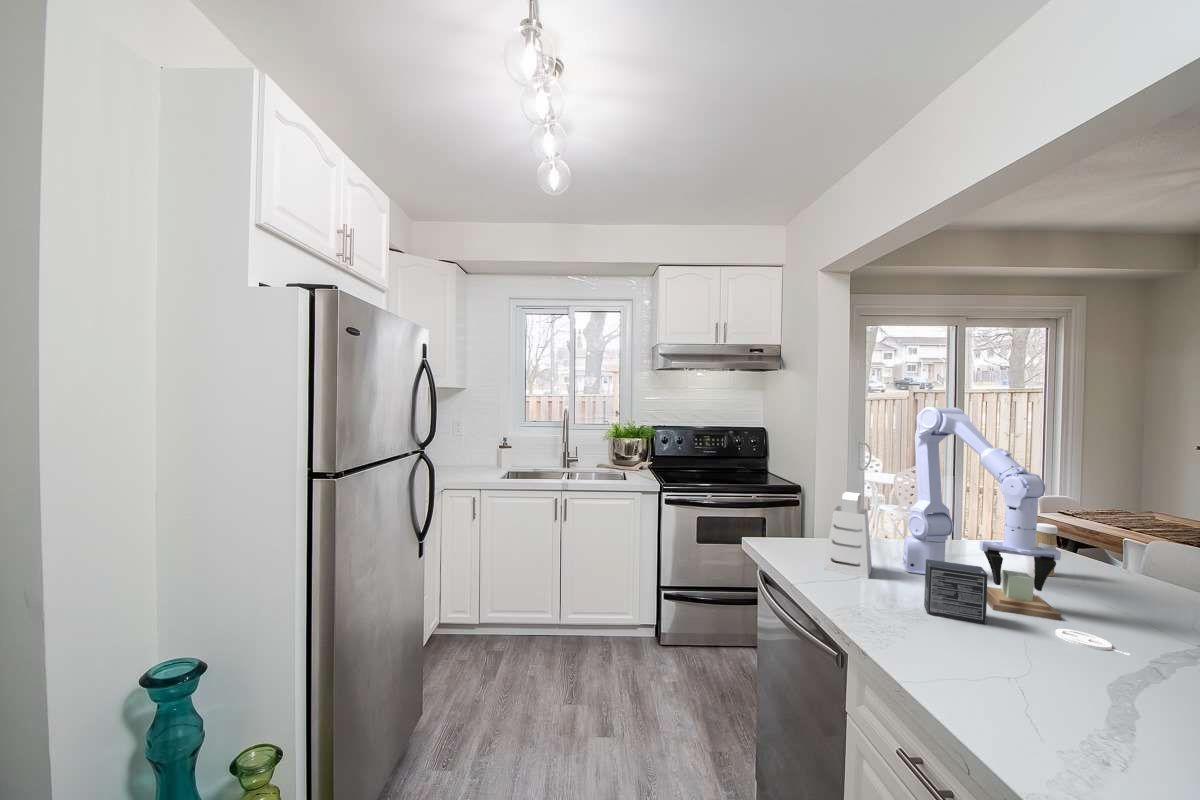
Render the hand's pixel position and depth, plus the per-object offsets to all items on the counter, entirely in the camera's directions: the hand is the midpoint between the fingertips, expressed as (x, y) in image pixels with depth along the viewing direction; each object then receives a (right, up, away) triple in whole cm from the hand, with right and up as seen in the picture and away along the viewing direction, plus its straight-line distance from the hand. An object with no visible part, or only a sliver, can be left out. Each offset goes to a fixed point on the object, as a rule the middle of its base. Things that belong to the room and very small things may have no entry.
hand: (1017, 586), depth 121 cm
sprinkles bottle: (+26, -5, +24) cm, 36 cm away
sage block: (0, -2, 0) cm, 2 cm away
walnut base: (0, -4, 0) cm, 4 cm away
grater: (-28, -3, +22) cm, 36 cm away
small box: (-19, -4, -7) cm, 20 cm away
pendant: (0, -5, -18) cm, 19 cm away
